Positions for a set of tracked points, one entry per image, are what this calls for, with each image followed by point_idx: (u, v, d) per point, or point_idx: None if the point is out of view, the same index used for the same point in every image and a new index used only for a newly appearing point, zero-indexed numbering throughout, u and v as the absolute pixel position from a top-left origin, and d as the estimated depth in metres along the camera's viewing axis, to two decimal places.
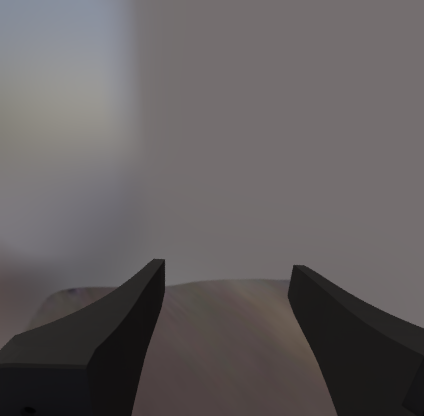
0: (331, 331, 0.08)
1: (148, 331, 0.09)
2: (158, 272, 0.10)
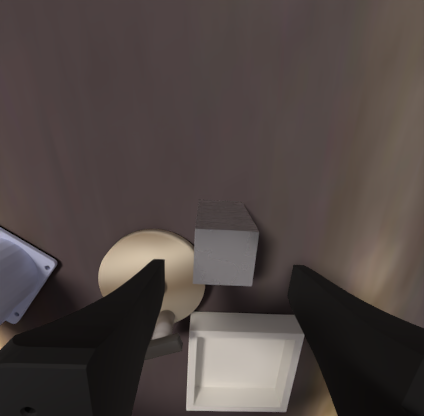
0: (331, 331, 0.08)
1: (148, 331, 0.09)
2: (158, 272, 0.10)
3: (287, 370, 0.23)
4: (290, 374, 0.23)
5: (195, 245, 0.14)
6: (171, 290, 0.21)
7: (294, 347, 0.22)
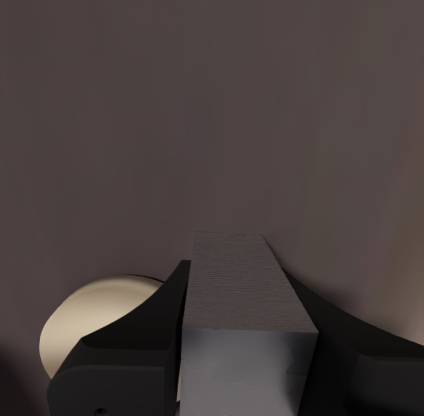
0: None
1: None
2: None
3: None
4: None
5: (183, 358, 0.07)
6: None
7: None
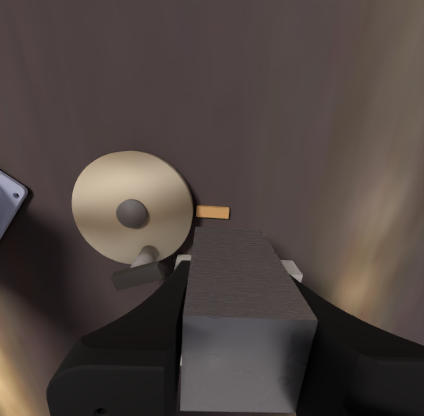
0: None
1: None
2: None
3: None
4: None
5: (184, 346, 0.07)
6: (154, 221, 0.18)
7: None
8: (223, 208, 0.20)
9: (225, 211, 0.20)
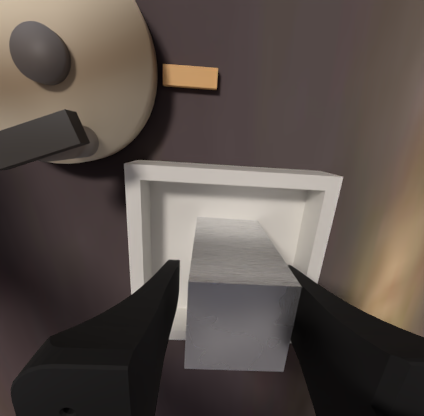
0: (311, 330, 0.08)
1: (167, 332, 0.09)
2: (175, 273, 0.10)
3: (308, 260, 0.13)
4: (313, 268, 0.13)
5: (189, 309, 0.08)
6: (84, 75, 0.11)
7: (322, 208, 0.12)
8: (208, 68, 0.12)
9: (211, 74, 0.12)
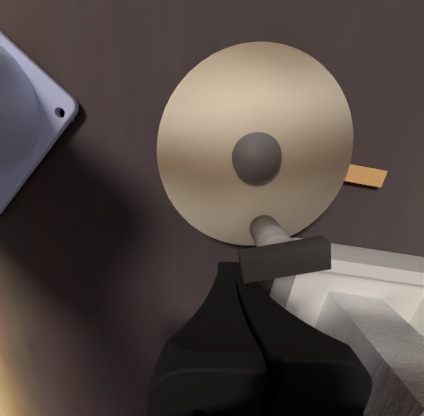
0: None
1: None
2: None
3: None
4: None
5: None
6: (285, 175, 0.11)
7: None
8: (378, 170, 0.13)
9: (380, 175, 0.13)
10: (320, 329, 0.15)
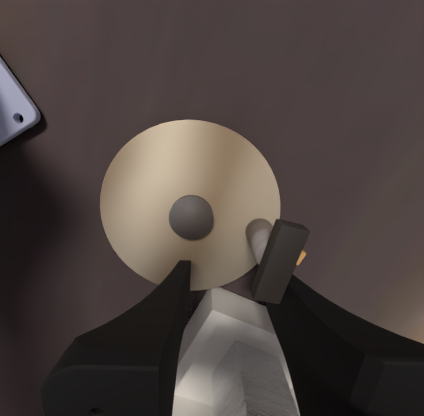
0: (296, 330, 0.08)
1: (181, 332, 0.09)
2: (188, 273, 0.10)
3: None
4: None
5: None
6: (219, 196, 0.12)
7: None
8: None
9: None
10: (218, 372, 0.17)
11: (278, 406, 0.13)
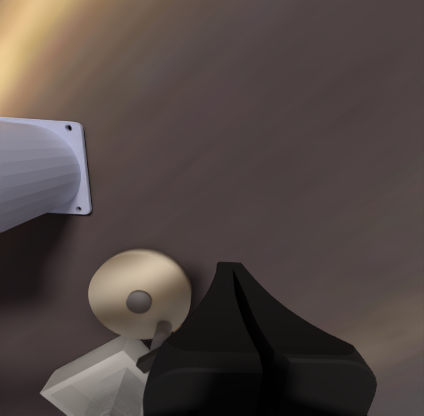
0: None
1: None
2: None
3: None
4: None
5: None
6: (159, 302, 0.21)
7: None
8: None
9: None
10: (105, 381, 0.25)
11: None
